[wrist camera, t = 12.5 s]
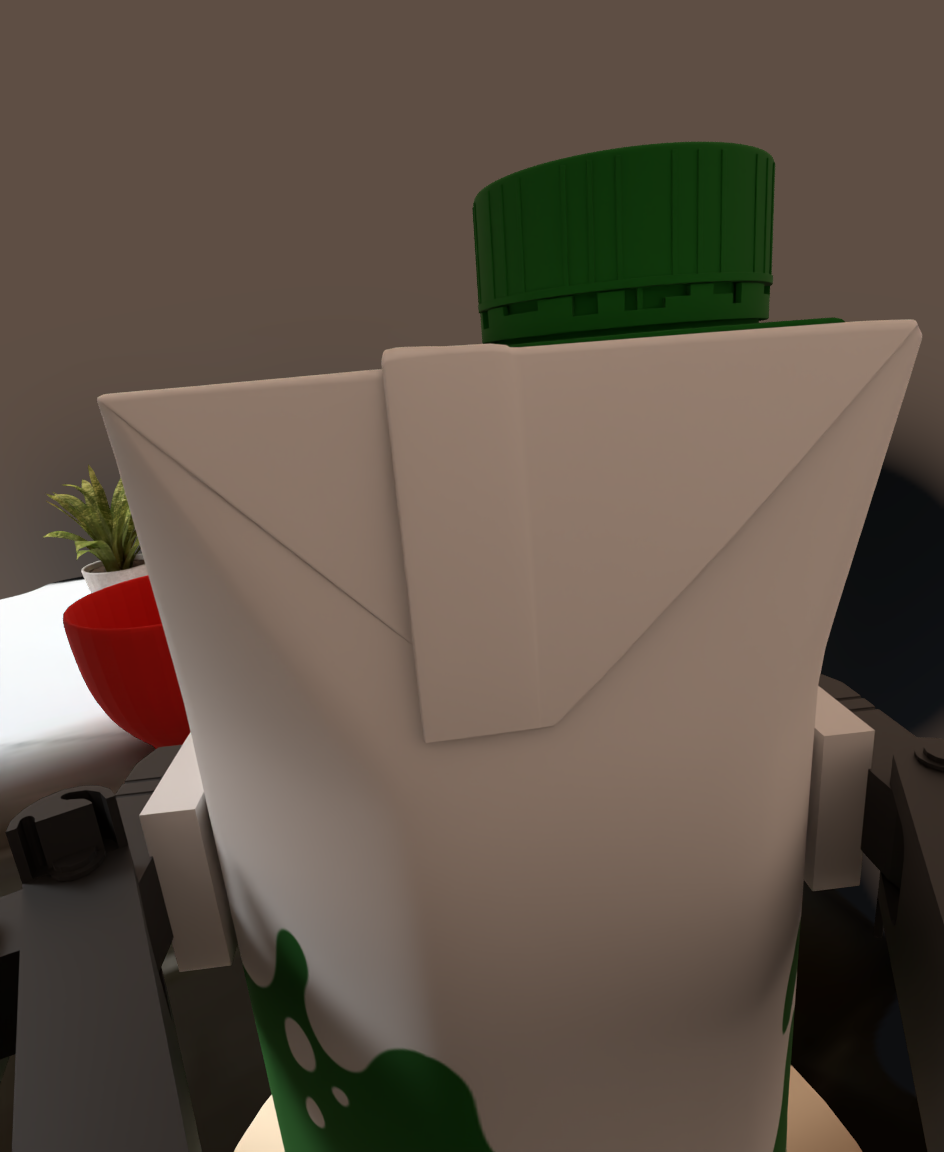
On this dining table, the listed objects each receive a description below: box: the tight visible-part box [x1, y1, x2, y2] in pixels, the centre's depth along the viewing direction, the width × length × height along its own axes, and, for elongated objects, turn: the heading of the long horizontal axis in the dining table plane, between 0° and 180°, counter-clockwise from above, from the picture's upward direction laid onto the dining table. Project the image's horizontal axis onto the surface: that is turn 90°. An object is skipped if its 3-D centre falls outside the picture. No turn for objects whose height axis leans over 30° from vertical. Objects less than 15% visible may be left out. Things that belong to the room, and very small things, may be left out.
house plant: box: [44, 465, 148, 593], centre depth 69 cm, size 14×14×16 cm
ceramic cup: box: [63, 575, 190, 749], centre depth 49 cm, size 13×17×10 cm
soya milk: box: [97, 142, 922, 1152], centre depth 12 cm, size 9×9×20 cm
